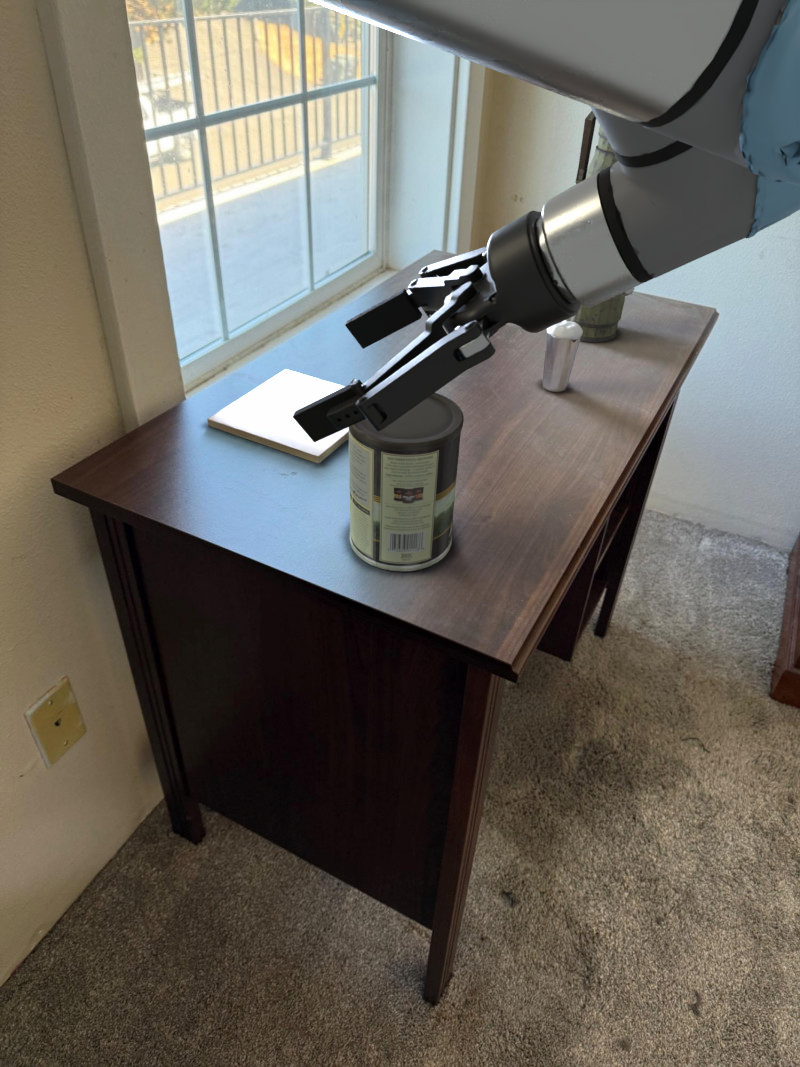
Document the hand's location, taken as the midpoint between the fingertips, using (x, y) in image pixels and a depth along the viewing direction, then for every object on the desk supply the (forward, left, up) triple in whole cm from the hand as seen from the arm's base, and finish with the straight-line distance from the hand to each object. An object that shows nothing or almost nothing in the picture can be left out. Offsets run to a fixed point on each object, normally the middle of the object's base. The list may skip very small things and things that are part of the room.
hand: (331, 377), depth 62 cm
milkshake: (+34, +28, -18) cm, 48 cm away
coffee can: (+6, -1, -18) cm, 19 cm away
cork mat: (-1, +25, -18) cm, 31 cm away
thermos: (+46, +45, -18) cm, 67 cm away
